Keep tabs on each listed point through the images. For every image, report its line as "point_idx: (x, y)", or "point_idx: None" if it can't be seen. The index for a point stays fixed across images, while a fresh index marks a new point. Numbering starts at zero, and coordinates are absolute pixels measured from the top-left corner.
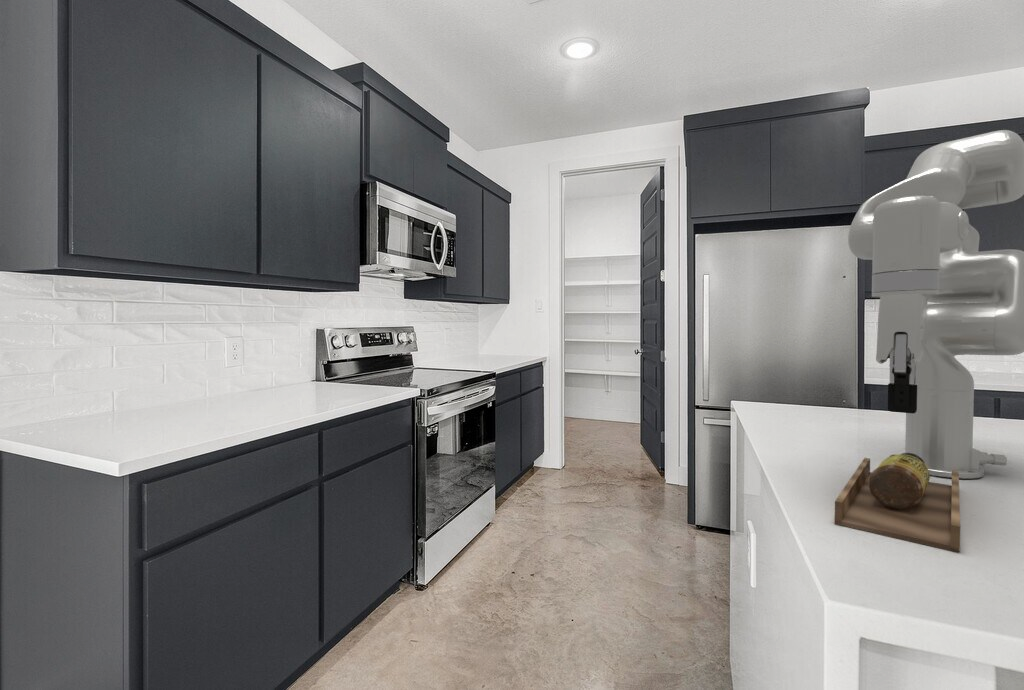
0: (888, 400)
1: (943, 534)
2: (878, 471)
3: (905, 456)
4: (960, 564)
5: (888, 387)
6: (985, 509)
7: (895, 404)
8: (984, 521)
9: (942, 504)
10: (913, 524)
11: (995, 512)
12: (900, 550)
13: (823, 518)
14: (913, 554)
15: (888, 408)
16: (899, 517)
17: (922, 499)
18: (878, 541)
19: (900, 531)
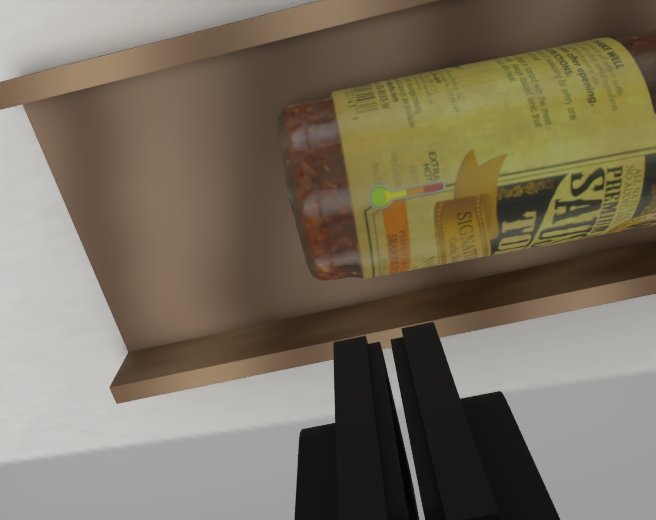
0: (340, 396)
1: (205, 321)
2: (287, 158)
3: (635, 174)
4: (63, 376)
5: (338, 507)
6: (621, 317)
7: (304, 436)
8: (479, 340)
9: None
10: (216, 250)
11: (607, 340)
12: (9, 273)
13: (36, 24)
14: (15, 300)
15: (335, 351)
16: (248, 204)
17: None
18: (14, 218)
19: (114, 246)
